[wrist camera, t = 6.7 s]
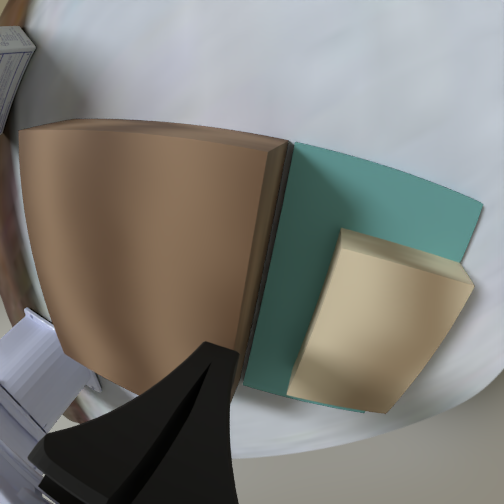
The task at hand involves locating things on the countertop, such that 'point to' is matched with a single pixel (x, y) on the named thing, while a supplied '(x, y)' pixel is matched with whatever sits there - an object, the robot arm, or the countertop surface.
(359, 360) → the cream rectangular block
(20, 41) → the medicine box
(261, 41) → the countertop surface
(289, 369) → the mat
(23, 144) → the block
